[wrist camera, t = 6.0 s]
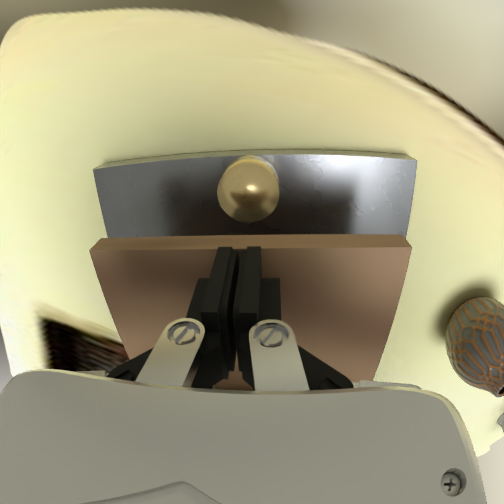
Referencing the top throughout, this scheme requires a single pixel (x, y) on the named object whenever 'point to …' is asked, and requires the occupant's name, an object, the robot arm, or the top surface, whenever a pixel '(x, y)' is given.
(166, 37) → the top surface
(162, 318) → the plate
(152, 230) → the base
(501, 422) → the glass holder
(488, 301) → the vase
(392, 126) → the top surface
